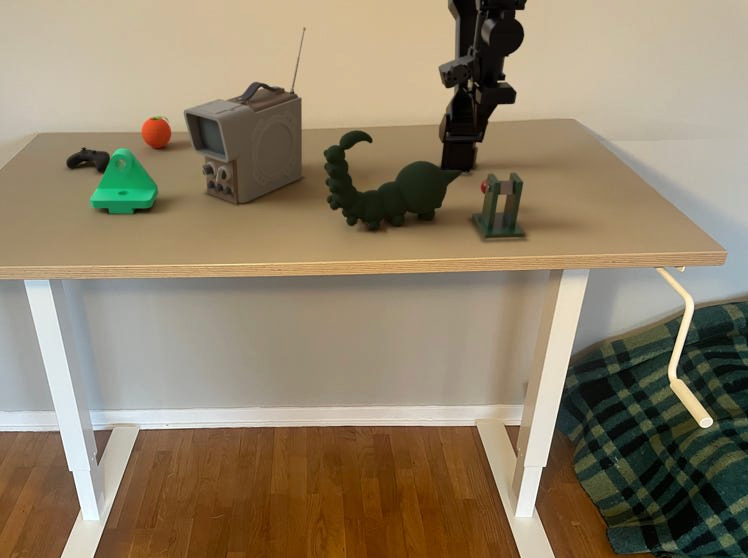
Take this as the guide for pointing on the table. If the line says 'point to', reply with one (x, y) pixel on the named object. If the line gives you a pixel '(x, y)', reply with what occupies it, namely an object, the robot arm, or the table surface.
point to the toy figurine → (385, 188)
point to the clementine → (156, 132)
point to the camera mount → (124, 185)
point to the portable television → (249, 141)
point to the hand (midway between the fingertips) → (478, 129)
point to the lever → (501, 187)
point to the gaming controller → (89, 158)
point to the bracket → (500, 222)
